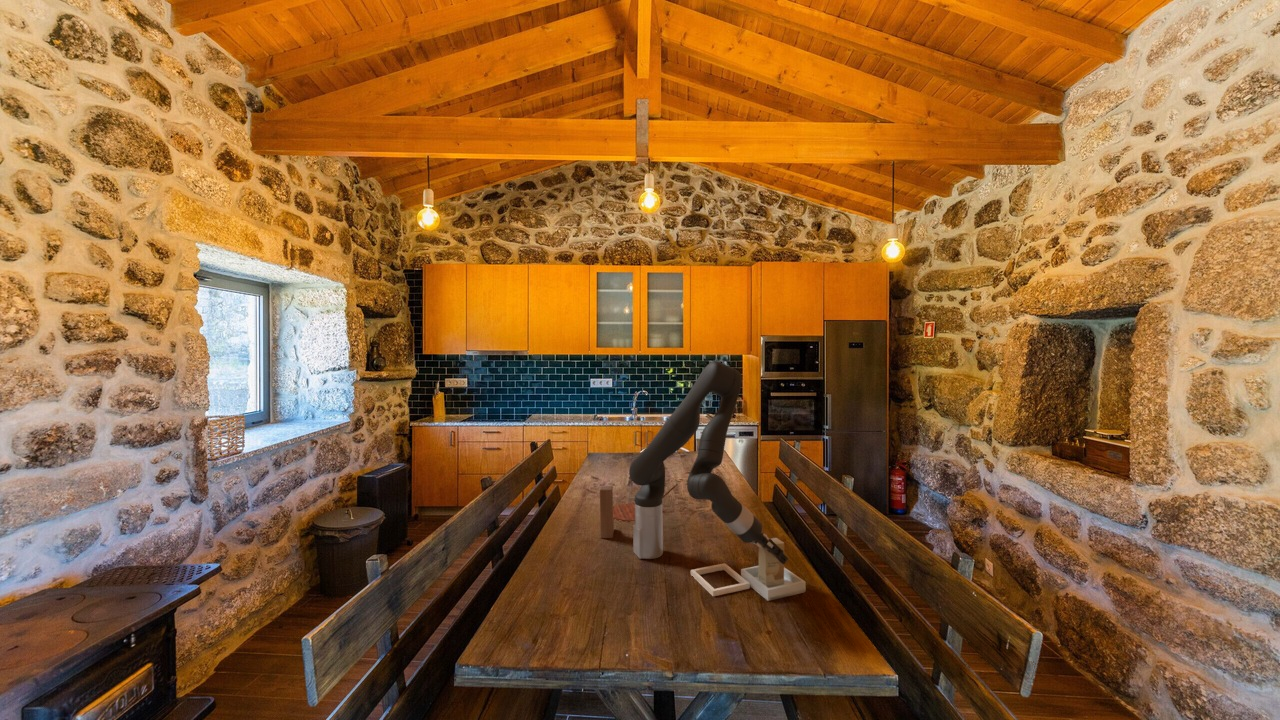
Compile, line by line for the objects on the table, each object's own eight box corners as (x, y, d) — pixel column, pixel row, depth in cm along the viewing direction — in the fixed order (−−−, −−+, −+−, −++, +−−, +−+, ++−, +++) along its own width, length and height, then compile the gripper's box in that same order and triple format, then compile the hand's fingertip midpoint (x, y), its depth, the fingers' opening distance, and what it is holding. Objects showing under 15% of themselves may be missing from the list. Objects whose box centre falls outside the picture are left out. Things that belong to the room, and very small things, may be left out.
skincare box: (766, 587, 143) (765, 545, 142) (757, 581, 147) (757, 540, 146) (785, 584, 145) (785, 542, 144) (776, 577, 149) (776, 536, 148)
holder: (713, 596, 140) (713, 591, 140) (690, 574, 153) (690, 569, 153) (749, 588, 144) (749, 583, 144) (724, 567, 157) (724, 563, 157)
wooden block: (602, 529, 191) (601, 482, 190) (613, 529, 191) (613, 482, 190) (600, 538, 182) (599, 489, 181) (612, 538, 182) (612, 489, 181)
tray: (768, 600, 137) (768, 590, 137) (741, 579, 150) (741, 569, 150) (805, 592, 142) (805, 581, 141) (776, 571, 154) (776, 561, 154)
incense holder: (604, 507, 217) (604, 481, 217) (671, 501, 223) (671, 477, 223) (611, 524, 196) (610, 496, 196) (684, 518, 202) (684, 491, 202)
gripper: (764, 520, 135) (799, 554, 140) (736, 504, 149) (769, 536, 153) (748, 542, 134) (783, 576, 138) (721, 524, 147) (754, 556, 152)
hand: (776, 555), depth 146 cm, fingers open, 8 cm apart
